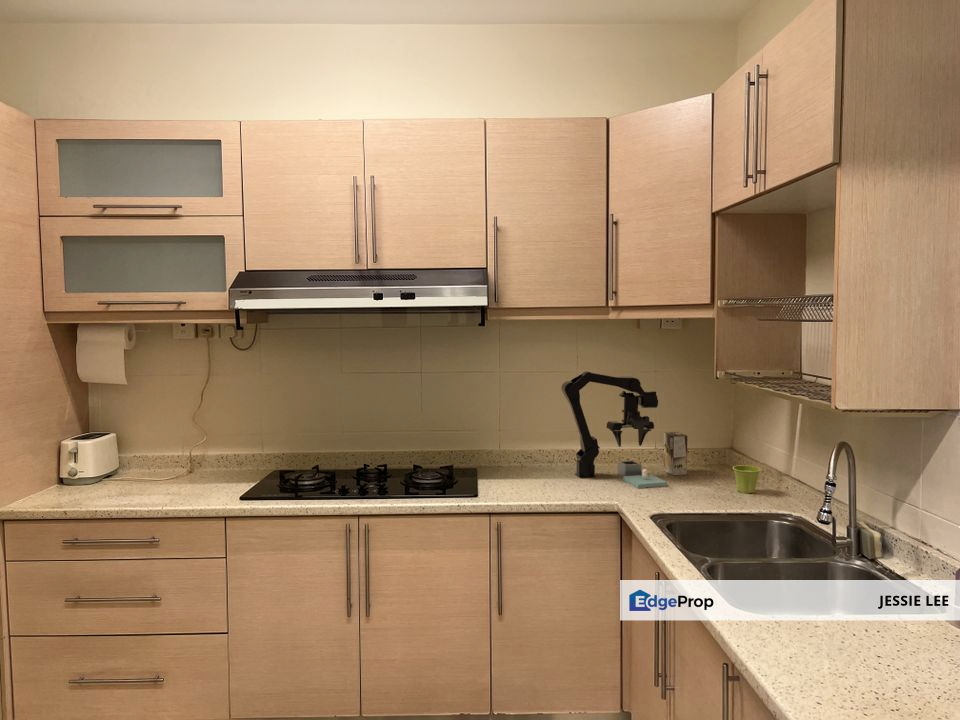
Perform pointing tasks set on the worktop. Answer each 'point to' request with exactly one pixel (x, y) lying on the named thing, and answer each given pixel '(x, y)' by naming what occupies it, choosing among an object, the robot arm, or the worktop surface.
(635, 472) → the link
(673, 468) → the coffee box
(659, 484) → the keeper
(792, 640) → the worktop surface
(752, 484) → the plant pot
